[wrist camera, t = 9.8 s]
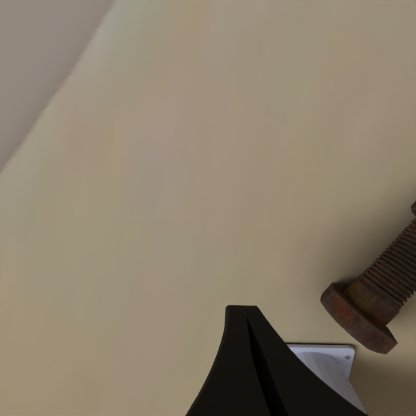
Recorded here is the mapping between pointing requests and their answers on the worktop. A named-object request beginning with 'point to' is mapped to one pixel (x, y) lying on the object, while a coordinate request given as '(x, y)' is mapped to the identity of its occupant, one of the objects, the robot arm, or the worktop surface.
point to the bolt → (377, 294)
